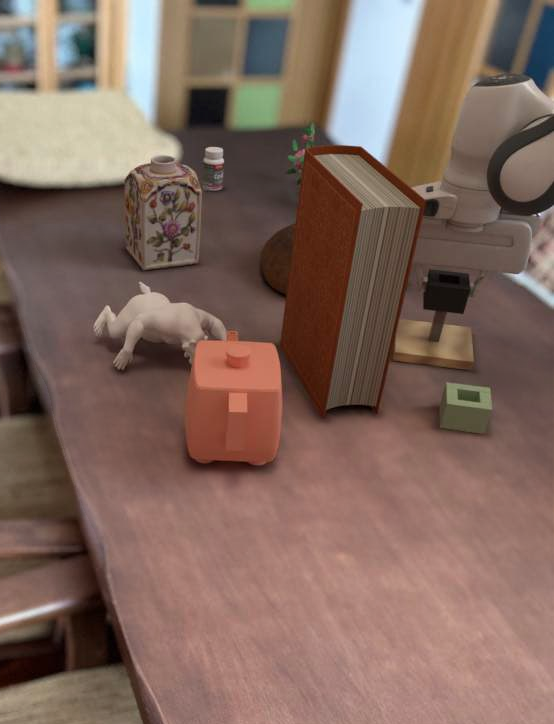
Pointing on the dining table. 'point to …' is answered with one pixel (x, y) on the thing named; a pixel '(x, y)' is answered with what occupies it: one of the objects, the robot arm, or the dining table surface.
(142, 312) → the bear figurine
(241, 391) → the teapot
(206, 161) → the pill bottle
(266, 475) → the dining table surface
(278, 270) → the bread
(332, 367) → the book
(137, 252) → the decorative jar
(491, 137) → the robot arm
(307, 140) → the flower vase
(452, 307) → the black hollow square block
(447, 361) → the base board
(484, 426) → the green hollow square block
